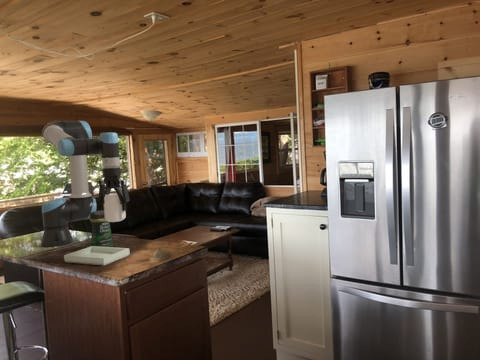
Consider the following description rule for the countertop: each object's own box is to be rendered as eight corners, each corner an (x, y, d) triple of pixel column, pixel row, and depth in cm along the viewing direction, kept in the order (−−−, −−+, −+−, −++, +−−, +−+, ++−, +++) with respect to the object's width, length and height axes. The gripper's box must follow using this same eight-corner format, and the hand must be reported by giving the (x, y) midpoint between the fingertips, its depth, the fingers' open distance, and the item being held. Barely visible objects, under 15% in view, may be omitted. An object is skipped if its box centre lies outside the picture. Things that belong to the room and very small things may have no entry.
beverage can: (117, 222, 170) (115, 195, 169) (102, 222, 172) (100, 195, 171) (128, 219, 178) (126, 192, 177) (113, 218, 180) (111, 193, 179)
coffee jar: (96, 251, 184) (93, 212, 183) (89, 249, 190) (86, 211, 188) (115, 247, 191) (112, 209, 190) (108, 244, 197) (105, 208, 195)
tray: (64, 262, 168) (64, 255, 168) (92, 252, 183) (91, 246, 183) (104, 265, 159) (103, 258, 159) (129, 255, 174) (129, 248, 174)
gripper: (86, 168, 173) (91, 218, 175) (125, 167, 166) (129, 219, 168) (98, 167, 180) (102, 215, 182) (136, 166, 173) (139, 216, 174)
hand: (115, 217), depth 175 cm, fingers closed on beverage can, 8 cm apart
